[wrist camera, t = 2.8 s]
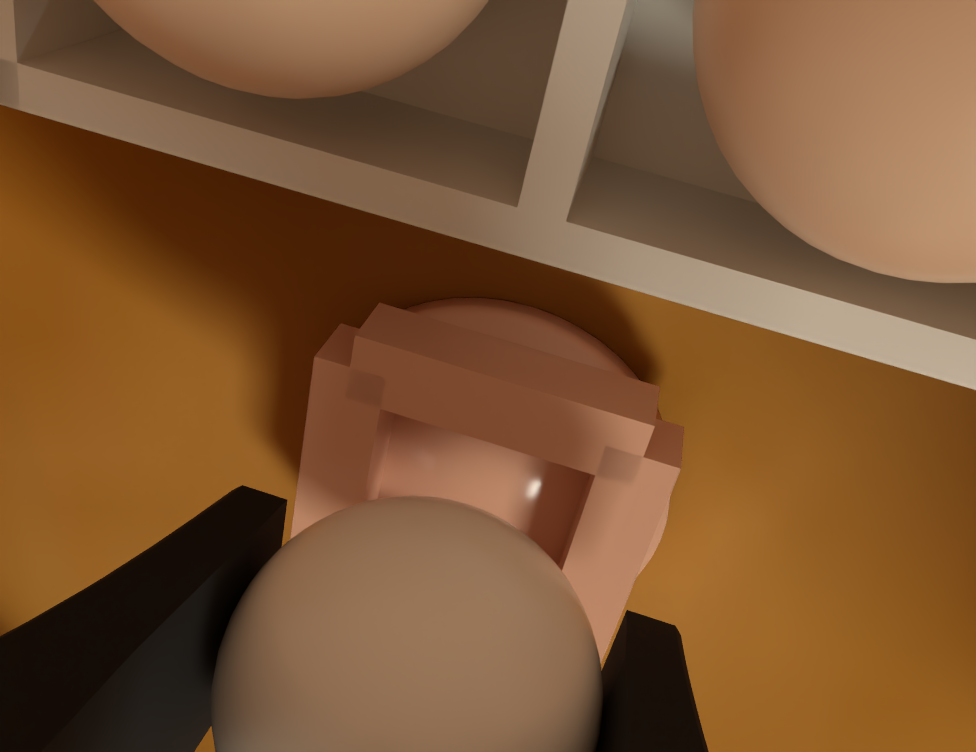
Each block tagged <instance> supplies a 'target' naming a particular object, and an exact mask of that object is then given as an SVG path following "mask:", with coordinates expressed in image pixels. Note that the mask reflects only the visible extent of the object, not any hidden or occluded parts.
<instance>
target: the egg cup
mask: <svg viewBox="0 0 976 752" xmlns="http://www.w3.org/2000/svg"><path fill="white" fill-rule="evenodd" d="M659 389H660V387H659V386H656V385H653V384H649V383H646V382H643V381H640V380H639V379H638V377H637V376H636V375H635V374H634V373H633V372H632V370H631V369H630V368H629V367H628V366H627V365H626V364H625V363H624V362H623V361H622V360H621V358H620V357H618V356H617V355H616V354H615V353H614V352H613V351H611V350H610V349H609V348H608V347H607V346H605V345H604V344H603V343H602V342H601V341H599V340H598V339H596V338H595V337H593V336H592V335H590V334H589V333H587V332H586V331H584V330H583V329H581V328H580V327H578V326H576V325H574V324H572V323H570V322H568V321H566V320H564V319H562V318H560V317H558V316H556V315H553V314H550V313H548V312H545V311H542V310H539V309H537V308H534V307H531V306H527V305H523V304H518V303H514V302H510V301H506V300H497V299H488V298H451V299H444V300H437V301H430V302H427V303H423V304H419V305H416V306H412V307H409V308H406V309H404V310H403V309H399V308H396V307H393V306H389V305H386V304H383V303H379V304H378V305H377V306H376V308H375V309H374V310H373V312H372V313H371V314H370V316H369V317H368V318H367V320H366V321H365V322H364V324H363V325H362V327H361V328H360V329H359V328H355V327H352V326H349V325H345V324H342V323H340V325H339V326H338V327H337V328H336V330H335V331H334V332H333V333H332V335H331V336H330V337H329V339H328V340H327V341H326V342H325V344H324V345H323V346H322V347H321V349H320V350H319V351H318V352H317V354H316V355H315V356H314V363H313V371H312V378H311V386H310V393H309V401H308V409H307V416H306V424H305V432H304V439H303V447H302V454H301V462H300V470H299V477H298V485H297V493H296V500H295V508H294V515H293V523H292V531H291V538H290V539H292V538H293V537H294V536H296V535H297V534H298V533H300V532H301V531H303V530H304V529H306V528H307V527H309V526H310V525H312V524H313V523H315V522H317V521H318V520H320V519H322V518H324V517H326V516H328V515H330V514H332V513H334V512H336V511H339V510H342V509H344V508H347V507H350V506H353V505H356V504H359V503H362V502H365V501H369V500H375V499H380V498H386V497H396V496H411V495H415V496H433V497H439V498H445V499H451V500H455V501H458V502H462V503H466V504H469V505H472V506H475V507H477V508H480V509H483V510H485V511H488V512H490V513H492V514H494V515H496V516H498V517H500V518H502V519H504V520H505V521H507V522H508V523H510V524H512V525H513V526H515V527H516V528H518V529H520V530H521V531H522V532H523V533H525V534H526V535H527V536H529V537H530V538H531V539H532V540H534V541H535V542H536V543H537V544H538V545H539V546H540V547H541V548H542V549H543V550H544V551H545V552H546V553H547V554H548V555H549V556H550V557H551V559H552V560H553V561H554V562H555V563H556V564H557V566H558V567H559V568H560V569H561V571H562V572H563V573H564V574H565V576H566V577H567V578H568V580H569V582H570V583H571V585H572V587H573V588H574V590H575V592H576V593H577V595H578V597H579V599H580V601H581V603H582V605H583V607H584V609H585V612H586V614H587V616H588V619H589V621H590V623H591V627H592V630H593V634H594V637H595V640H596V644H597V648H598V653H599V657H600V663H601V662H602V660H603V657H604V655H605V652H606V650H607V647H608V645H609V643H610V640H611V638H612V635H613V633H614V630H615V628H616V626H617V623H618V621H619V618H620V616H621V613H622V611H623V608H624V606H625V604H626V601H627V599H628V596H629V594H630V591H631V589H632V587H633V584H634V582H635V579H636V577H637V575H638V574H639V573H640V572H641V571H642V570H643V568H644V567H645V566H646V564H647V563H648V562H649V560H650V559H651V558H652V556H653V554H654V552H655V550H656V548H657V546H658V544H659V542H660V540H661V537H662V534H663V531H664V528H665V525H666V522H667V516H668V509H669V502H670V494H671V492H672V489H673V487H674V484H675V482H676V480H677V477H678V475H679V472H680V470H681V461H682V447H683V433H684V427H682V426H679V425H676V424H672V423H669V422H666V421H662V419H661V416H660V414H659V412H658V410H657V405H658V397H659Z"/></svg>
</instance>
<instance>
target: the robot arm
mask: <svg viewBox="0 0 976 752" xmlns="http://www.w3.org/2000/svg"><path fill="white" fill-rule="evenodd" d="M286 506H287V500H286V499H283V498H280V497H277V496H274V495H271V494H268V493H265V492H262V491H258V490H255V489H252V488H249V487H246V486H243V485H242V486H240V487H238V488H236V489H234V490H232V491H231V492H229V493H228V494H227V495H225V496H224V497H222V498H221V499H220V500H218V501H217V502H215V503H214V504H213V505H211V506H210V507H208V508H207V509H205V510H204V511H203V512H201V513H200V514H198V515H197V516H196V517H194V518H193V519H191V520H190V521H188V522H187V523H185V524H184V525H183V526H181V527H180V528H178V529H177V530H175V531H174V532H172V533H171V534H169V535H168V536H166V537H165V538H164V539H162V540H161V541H159V542H158V543H156V544H155V545H153V546H152V547H150V548H149V549H147V550H145V551H144V552H142V553H141V554H139V555H138V556H136V557H135V558H133V559H131V560H130V561H128V562H127V563H125V564H124V565H122V566H121V567H119V568H117V569H116V570H114V571H113V572H111V573H110V574H108V575H106V576H105V577H103V578H102V579H100V580H98V581H97V582H95V583H94V584H92V585H90V586H89V587H87V588H85V589H84V590H82V591H80V592H78V593H77V594H75V595H73V596H71V597H70V598H68V599H66V600H64V601H63V602H61V603H59V604H58V605H56V606H54V607H52V608H51V609H49V610H47V611H45V612H44V613H42V614H40V615H38V616H37V617H35V618H33V619H32V620H30V621H28V622H26V623H24V624H22V625H21V626H19V627H17V628H15V629H13V630H11V631H9V632H7V633H6V634H4V635H2V636H0V752H194V751H195V750H196V748H197V746H198V745H199V743H200V742H201V740H202V739H203V737H204V736H205V734H206V733H207V731H208V729H209V728H210V726H211V725H212V724H211V697H212V683H213V678H214V672H215V666H216V661H217V655H218V650H219V647H220V644H221V641H222V639H223V636H224V633H225V630H226V627H227V625H228V622H229V620H230V617H231V615H232V613H233V611H234V609H235V607H236V605H237V604H238V602H239V600H240V598H241V596H242V595H243V593H244V592H245V590H246V588H247V587H248V585H249V584H250V582H251V581H252V580H253V578H254V577H255V576H256V574H257V573H258V572H259V571H260V569H261V568H262V567H263V565H264V564H265V563H266V562H267V561H268V560H269V559H270V558H271V557H272V556H273V555H274V554H275V553H276V552H277V551H278V550H279V549H280V548H281V546H282V538H283V530H284V522H285V514H286ZM601 673H602V684H603V709H602V721H601V729H600V736H599V740H598V745H597V749H596V752H708V748H707V745H706V741H705V738H704V734H703V731H702V727H701V723H700V719H699V715H698V712H697V708H696V704H695V700H694V696H693V692H692V688H691V683H690V679H689V675H688V670H687V665H686V660H685V656H684V650H683V645H682V639H681V635H680V633H679V631H678V629H677V628H676V626H675V625H671V624H668V623H665V622H662V621H659V620H656V619H653V618H650V617H647V616H644V615H641V614H638V613H635V612H631V611H628V610H627V611H626V613H625V616H624V618H623V621H622V623H621V626H620V628H619V630H618V633H617V635H616V638H615V640H614V642H613V645H612V647H611V650H610V652H609V655H608V657H607V659H606V662H605V664H604V667H603V669H602V671H601Z"/></svg>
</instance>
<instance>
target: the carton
mask: <svg viewBox="0 0 976 752" xmlns="http://www.w3.org/2000/svg"><path fill="white" fill-rule="evenodd" d="M0 105H3V106H7V107H10V108H13V109H17V110H20V111H24V112H27V113H31V114H34V115H37V116H41V117H44V118H48V119H51V120H54V121H58V122H61V123H65V124H68V125H72V126H75V127H78V128H82V129H85V130H89V131H92V132H95V133H99V134H102V135H106V136H109V137H113V138H116V139H119V140H123V141H126V142H130V143H133V144H137V145H140V146H143V147H147V148H150V149H154V150H157V151H160V152H164V153H167V154H171V155H174V156H178V157H181V158H184V159H188V160H191V161H195V162H198V163H201V164H205V165H208V166H212V167H215V168H219V169H222V170H225V171H229V172H232V173H236V174H239V175H242V176H246V177H249V178H253V179H256V180H260V181H263V182H266V183H270V184H273V185H277V186H280V187H283V188H287V189H290V190H294V191H297V192H301V193H304V194H307V195H311V196H314V197H318V198H321V199H324V200H328V201H331V202H335V203H338V204H342V205H345V206H348V207H352V208H355V209H359V210H362V211H365V212H369V213H372V214H376V215H379V216H383V217H386V218H389V219H393V220H396V221H400V222H403V223H406V224H410V225H413V226H417V227H420V228H424V229H427V230H430V231H434V232H437V233H441V234H444V235H448V236H451V237H454V238H458V239H461V240H465V241H468V242H471V243H475V244H478V245H482V246H485V247H489V248H492V249H495V250H499V251H502V252H506V253H509V254H512V255H516V256H519V257H523V258H526V259H530V260H533V261H536V262H540V263H543V264H547V265H550V266H553V267H557V268H560V269H564V270H567V271H571V272H574V273H577V274H581V275H584V276H588V277H591V278H594V279H598V280H601V281H605V282H608V283H612V284H615V285H618V286H622V287H625V288H629V289H632V290H635V291H639V292H642V293H646V294H649V295H653V296H656V297H659V298H663V299H666V300H670V301H673V302H676V303H680V304H683V305H687V306H690V307H694V308H697V309H700V310H704V311H707V312H711V313H714V314H717V315H721V316H724V317H728V318H731V319H735V320H738V321H741V322H745V323H748V324H752V325H755V326H759V327H762V328H765V329H769V330H772V331H776V332H779V333H782V334H786V335H789V336H793V337H796V338H800V339H803V340H806V341H810V342H813V343H817V344H820V345H823V346H827V347H830V348H834V349H837V350H841V351H844V352H847V353H851V354H854V355H858V356H861V357H864V358H868V359H871V360H875V361H878V362H882V363H885V364H888V365H892V366H895V367H899V368H902V369H905V370H909V371H912V372H916V373H919V374H923V375H926V376H929V377H933V378H936V379H940V380H943V381H946V382H950V383H953V384H957V385H960V386H964V387H967V388H970V389H974V390H976V0H0Z"/></svg>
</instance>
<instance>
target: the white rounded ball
mask: <svg viewBox="0 0 976 752" xmlns="http://www.w3.org/2000/svg"><path fill="white" fill-rule="evenodd" d="M602 709H603V684H602V673H601V663H600V657H599V653H598V648H597V644H596V640H595V637H594V634H593V630H592V627H591V623H590V621H589V619H588V616H587V614H586V612H585V609H584V607H583V605H582V603H581V601H580V599H579V597H578V595H577V593H576V592H575V590H574V588H573V587H572V585H571V583H570V582H569V580H568V578H567V577H566V576H565V574H564V573H563V572H562V571H561V569H560V568H559V567H558V566H557V564H556V563H555V562H554V561H553V560H552V559H551V557H550V556H549V555H548V554H547V553H546V552H545V551H544V550H543V549H542V548H541V547H540V546H539V545H538V544H537V543H536V542H535V541H534V540H532V539H531V538H530V537H529V536H527V535H526V534H525V533H523V532H522V531H521V530H520V529H518V528H516V527H515V526H513V525H512V524H510V523H508V522H507V521H505V520H504V519H502V518H500V517H498V516H496V515H494V514H492V513H490V512H488V511H485V510H483V509H480V508H477V507H475V506H472V505H469V504H466V503H462V502H458V501H455V500H451V499H445V498H439V497H433V496H415V495H411V496H396V497H386V498H380V499H375V500H369V501H365V502H362V503H359V504H356V505H353V506H350V507H347V508H344V509H342V510H339V511H336V512H334V513H332V514H330V515H328V516H326V517H324V518H322V519H320V520H318V521H317V522H315V523H313V524H312V525H310V526H309V527H307V528H306V529H304V530H303V531H301V532H300V533H298V534H297V535H296V536H294V537H293V538H292V539H290V540H289V541H288V542H287V543H286V544H285V545H284V546H282V547H281V548H280V549H279V550H278V551H277V552H276V553H275V554H274V555H273V556H272V557H271V558H270V559H269V560H268V561H267V562H266V563H265V564H264V565H263V567H262V568H261V569H260V571H259V572H258V573H257V574H256V576H255V577H254V578H253V580H252V581H251V582H250V584H249V585H248V587H247V588H246V590H245V592H244V593H243V595H242V596H241V598H240V600H239V602H238V604H237V605H236V607H235V609H234V611H233V613H232V615H231V617H230V620H229V622H228V625H227V627H226V630H225V633H224V636H223V639H222V641H221V644H220V647H219V650H218V655H217V661H216V666H215V672H214V678H213V683H212V697H211V724H212V732H213V738H214V745H215V751H216V752H596V749H597V745H598V740H599V736H600V729H601V721H602Z"/></svg>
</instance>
